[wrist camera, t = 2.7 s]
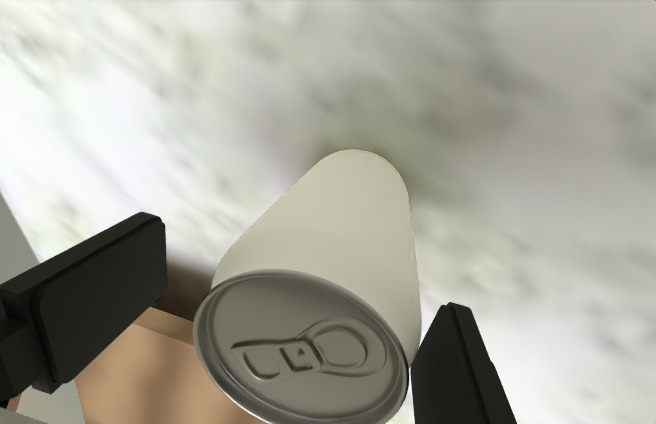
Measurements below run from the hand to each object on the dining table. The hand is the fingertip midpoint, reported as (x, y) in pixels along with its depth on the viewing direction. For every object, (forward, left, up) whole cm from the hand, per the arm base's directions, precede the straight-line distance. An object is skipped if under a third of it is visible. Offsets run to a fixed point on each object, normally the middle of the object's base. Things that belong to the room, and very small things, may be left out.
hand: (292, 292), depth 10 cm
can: (-1, 0, -10) cm, 10 cm away
